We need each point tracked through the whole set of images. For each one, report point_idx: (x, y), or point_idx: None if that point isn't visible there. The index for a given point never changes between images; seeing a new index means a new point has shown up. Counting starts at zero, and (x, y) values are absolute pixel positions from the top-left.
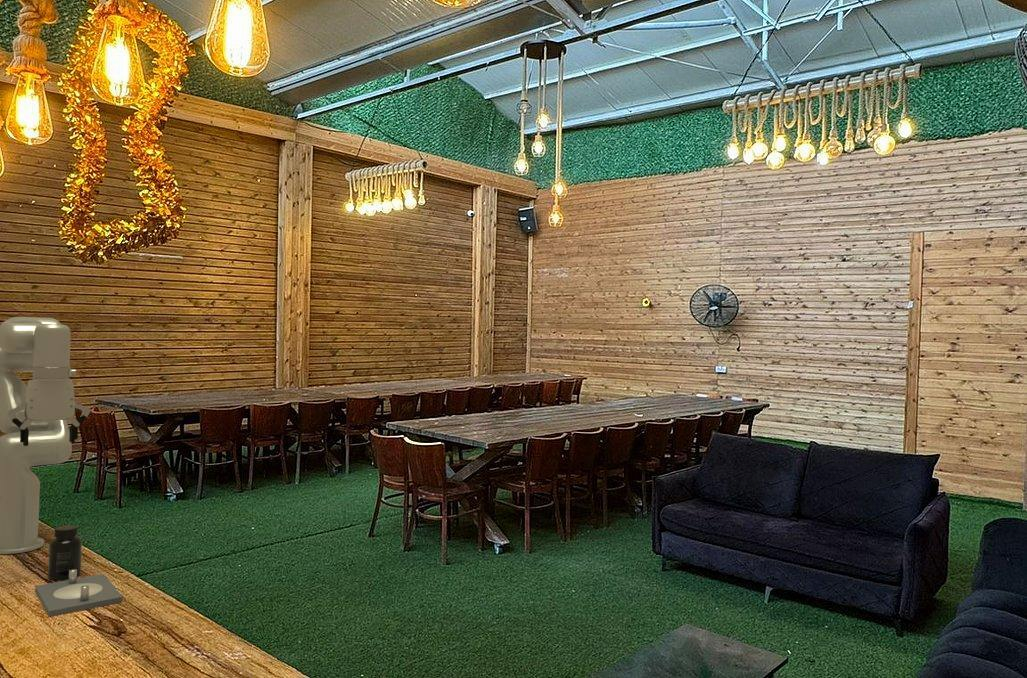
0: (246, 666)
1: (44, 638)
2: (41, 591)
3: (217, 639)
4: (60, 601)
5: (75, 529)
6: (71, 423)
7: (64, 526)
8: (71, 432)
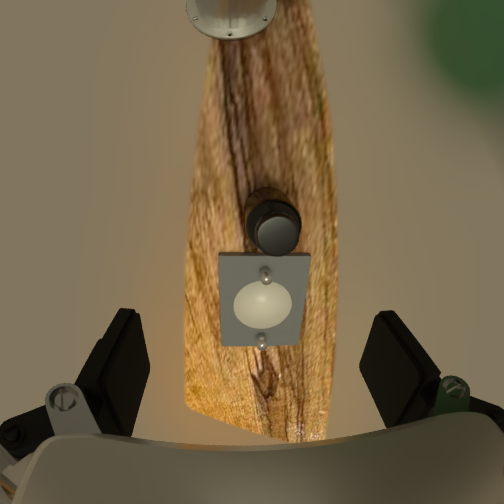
0: None
1: (212, 380)
2: (222, 283)
3: (318, 421)
4: (237, 327)
5: (291, 251)
6: (431, 406)
7: (278, 223)
8: (380, 402)
